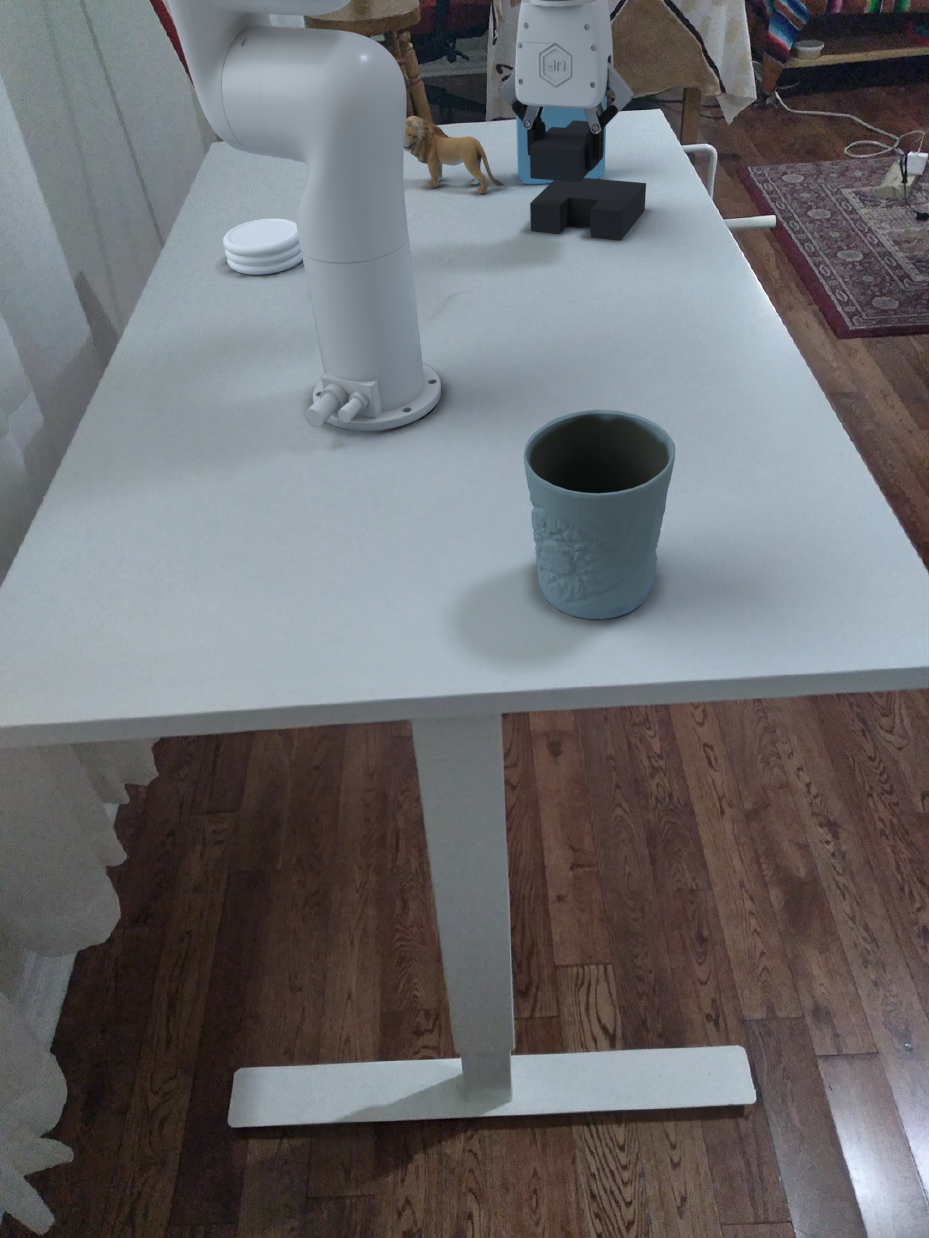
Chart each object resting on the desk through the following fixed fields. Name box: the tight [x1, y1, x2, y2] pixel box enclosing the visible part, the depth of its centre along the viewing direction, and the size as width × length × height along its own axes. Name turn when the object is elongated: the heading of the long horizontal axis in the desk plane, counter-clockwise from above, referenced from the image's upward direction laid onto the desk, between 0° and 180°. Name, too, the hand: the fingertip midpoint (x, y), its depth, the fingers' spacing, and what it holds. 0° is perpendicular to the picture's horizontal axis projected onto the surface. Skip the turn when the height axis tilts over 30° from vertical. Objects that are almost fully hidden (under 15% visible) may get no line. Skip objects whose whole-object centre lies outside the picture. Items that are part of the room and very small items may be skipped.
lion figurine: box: [404, 115, 504, 195], centre depth 134 cm, size 15×5×9 cm, turn 70°
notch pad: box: [529, 178, 647, 241], centre depth 123 cm, size 10×12×4 cm
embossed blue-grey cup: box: [523, 409, 676, 620], centre depth 69 cm, size 10×10×12 cm
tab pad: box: [530, 120, 590, 182], centre depth 112 cm, size 10×6×4 cm, turn 155°
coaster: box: [222, 217, 303, 276], centre depth 121 cm, size 10×10×4 cm
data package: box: [515, 95, 608, 186], centre depth 133 cm, size 12×4×12 cm, turn 89°
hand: (565, 163), depth 112 cm, fingers closed on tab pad, 6 cm apart
